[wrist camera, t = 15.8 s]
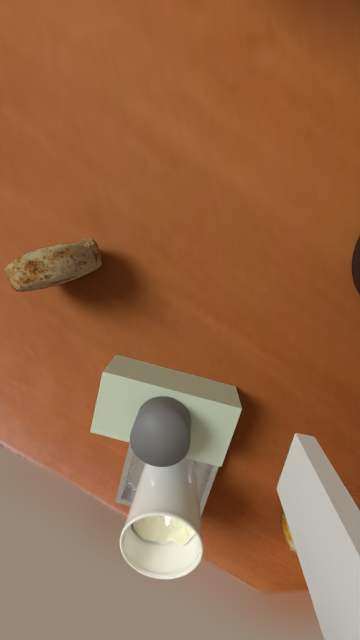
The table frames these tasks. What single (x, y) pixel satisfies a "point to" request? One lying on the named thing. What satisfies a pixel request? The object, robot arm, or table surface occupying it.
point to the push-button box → (165, 412)
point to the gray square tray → (134, 471)
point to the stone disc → (53, 265)
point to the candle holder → (164, 522)
